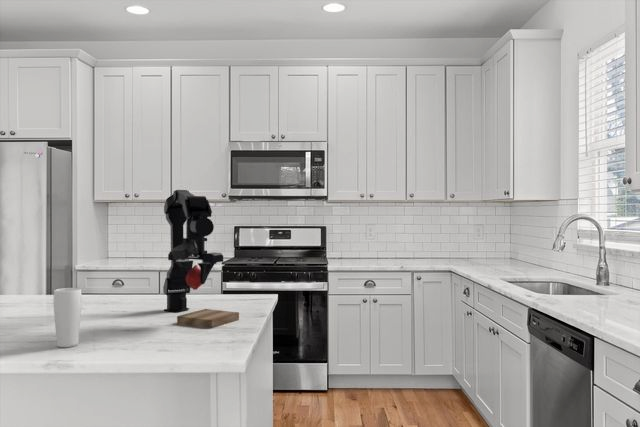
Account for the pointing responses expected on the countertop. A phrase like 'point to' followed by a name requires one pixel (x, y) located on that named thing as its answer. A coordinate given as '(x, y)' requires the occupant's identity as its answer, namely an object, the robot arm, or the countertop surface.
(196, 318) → the walnut block
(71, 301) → the drinking glass
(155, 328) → the countertop surface
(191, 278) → the red round fruit
